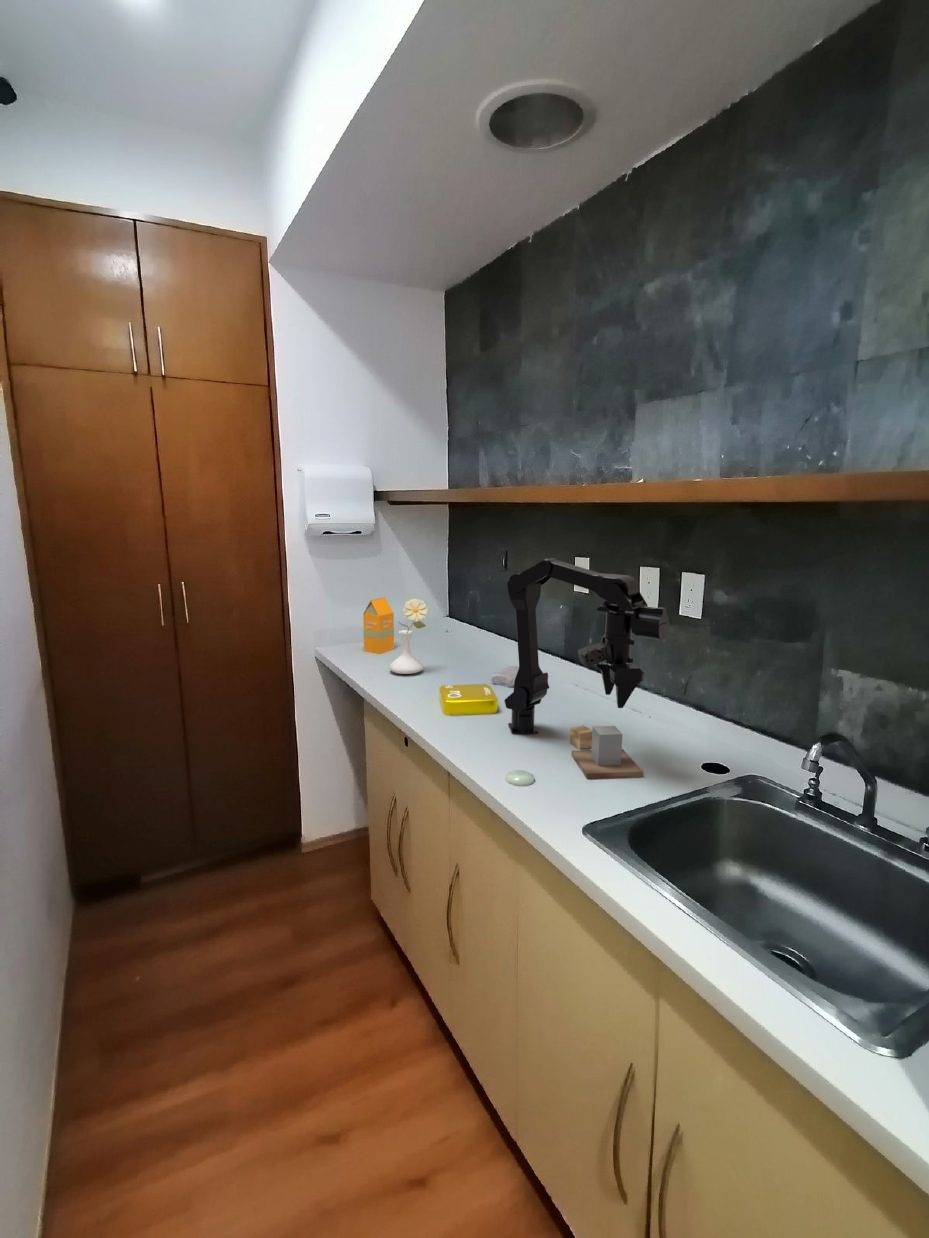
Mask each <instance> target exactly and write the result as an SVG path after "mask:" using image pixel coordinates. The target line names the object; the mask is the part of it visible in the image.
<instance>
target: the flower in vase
mask: <svg viewBox="0 0 929 1238" xmlns="http://www.w3.org/2000/svg"><path fill="white" fill-rule="evenodd" d="M428 609H429V608H428V607H427V604H425V601H424V600H421V599H419V598H418V599H417V598H415V597H414V598H413V599H409V600H408V601H405V604H404V607H403V611H402V613H403V614H404V616H405V618H406V619H407V620H409V621H411V622H412V623H411V625H410V626H408V625H406V624H405V623H401V621H398V624H399V625H400V626H402V627H406V628H408V629H405V630H403V629H402V630H399V631H398V633H399V635H400V638H401V641H402V653H401V654H400V655H399V656H398V657H396V659H394V660H393V661H392V662H391V663H390V665H389V667H388V668H389V670H390V671H391V672H393V673H395V674H399V675H400V674H401V675H408V674H409V675H411V674H416V673H419V672H422V670H423V669H424V664H423V663H422V662H421V661H420V660H419V659H417V657H415V656H414V655H412V653H411V648H410V646H411V645H410V644H411V638H412V636H413V634H414V633H415V632H414V630H410V629H411V628H412V626H414V627H415V628H416V629H422V628H425V627H426V624H425V623H423V621H422V620H424V619H426V617H427V615H428V611H429V610H428Z"/></svg>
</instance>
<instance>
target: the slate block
mask: <svg viewBox="0 0 929 1238" xmlns="http://www.w3.org/2000/svg"><path fill="white" fill-rule="evenodd" d="M591 729H592V747H591V749H590V750H591V757H592V758H593V760H594V761H595V762H596V764H597V765H598V766H606V765H621V752H622V749H623V733H622V731H620V730H619V729H618V728H617V726H616V725H599V726H598V725H597V726H595V725H593V726H592V728H591Z"/></svg>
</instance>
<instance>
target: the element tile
mask: <svg viewBox="0 0 929 1238" xmlns="http://www.w3.org/2000/svg"><path fill="white" fill-rule="evenodd" d="M438 690H439V691H438V692H439V693H438V694H439V695H438V701H439V704H440V708H441V712H442V713H443V715H446V716H463V715H465V716H467V715H468V716H469V715H470V716H471V715H472V716H473V715H491V714H496V713H498V699H499V698H498V696H497V695H496V692H495V691H494V689H493V688H492V686H491V685H489V684H488V683H480V684H479V683H477V684H476V683H475V684H447V685H446V684H443V685H441V686H440V687H439V688H438Z"/></svg>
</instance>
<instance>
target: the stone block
mask: <svg viewBox="0 0 929 1238" xmlns="http://www.w3.org/2000/svg"><path fill="white" fill-rule="evenodd" d="M518 669H519V665H518V666H516V665H509V666H506V667H504V668H503V669H501V671H499V672H496V671H494V672H492V677H491V682H492V683H493V685H497V686H502V687H504V688H505V687H506V688H514V680H515V677H516V675H517V672H518Z"/></svg>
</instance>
